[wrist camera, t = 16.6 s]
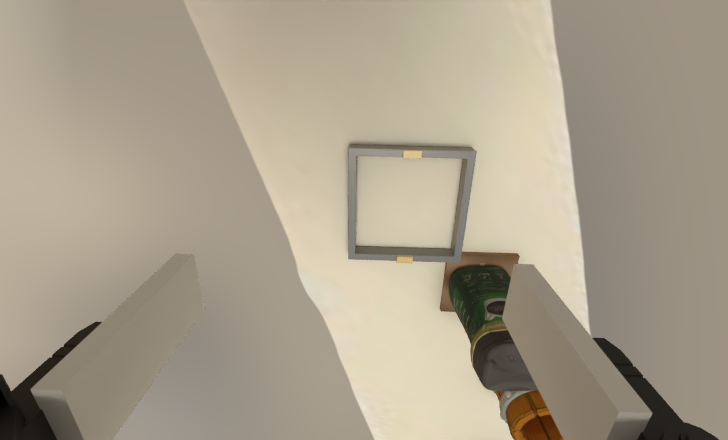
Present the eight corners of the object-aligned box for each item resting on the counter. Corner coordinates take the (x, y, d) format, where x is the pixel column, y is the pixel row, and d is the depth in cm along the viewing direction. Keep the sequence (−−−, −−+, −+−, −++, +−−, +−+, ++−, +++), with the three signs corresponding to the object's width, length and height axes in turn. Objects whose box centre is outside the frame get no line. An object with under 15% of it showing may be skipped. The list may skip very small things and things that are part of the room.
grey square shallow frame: (349, 144, 49) (348, 149, 46) (471, 147, 49) (477, 152, 46) (349, 251, 56) (348, 261, 53) (456, 254, 55) (460, 264, 52)
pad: (447, 251, 55) (448, 254, 54) (517, 253, 55) (519, 256, 54) (439, 308, 60) (440, 311, 59) (504, 310, 59) (506, 313, 59)
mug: (473, 356, 64) (500, 435, 50) (562, 322, 60) (618, 397, 46) (494, 393, 67) (525, 477, 54) (580, 364, 64) (637, 445, 50)
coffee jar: (446, 305, 58) (476, 403, 41) (449, 264, 55) (482, 352, 38) (505, 304, 58) (560, 402, 41) (511, 262, 55) (573, 350, 38)
